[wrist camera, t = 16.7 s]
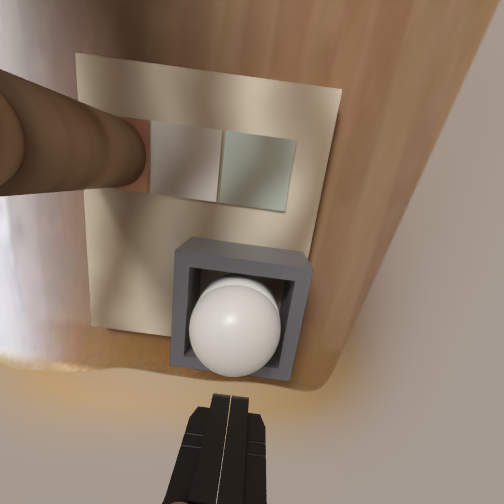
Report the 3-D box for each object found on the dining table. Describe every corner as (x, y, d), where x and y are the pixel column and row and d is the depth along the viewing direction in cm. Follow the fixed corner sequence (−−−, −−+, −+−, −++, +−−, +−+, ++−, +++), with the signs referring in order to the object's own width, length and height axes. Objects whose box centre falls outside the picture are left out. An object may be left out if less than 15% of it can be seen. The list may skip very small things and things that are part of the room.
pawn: (83, 182, 18) (-250, 197, 6) (76, 111, 17) (-368, -43, 5) (146, 190, 18) (-68, 218, 6) (145, 119, 17) (-136, -16, 5)
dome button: (198, 332, 20) (173, 394, 14) (203, 263, 18) (178, 301, 13) (271, 342, 20) (275, 406, 14) (283, 274, 18) (294, 316, 13)
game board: (102, 317, 24) (90, 327, 22) (90, 63, 18) (72, 51, 16) (287, 341, 24) (289, 353, 22) (335, 96, 18) (343, 88, 16)
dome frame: (185, 333, 22) (169, 365, 18) (191, 236, 20) (174, 250, 16) (284, 346, 22) (289, 381, 18) (302, 251, 20) (313, 268, 16)
